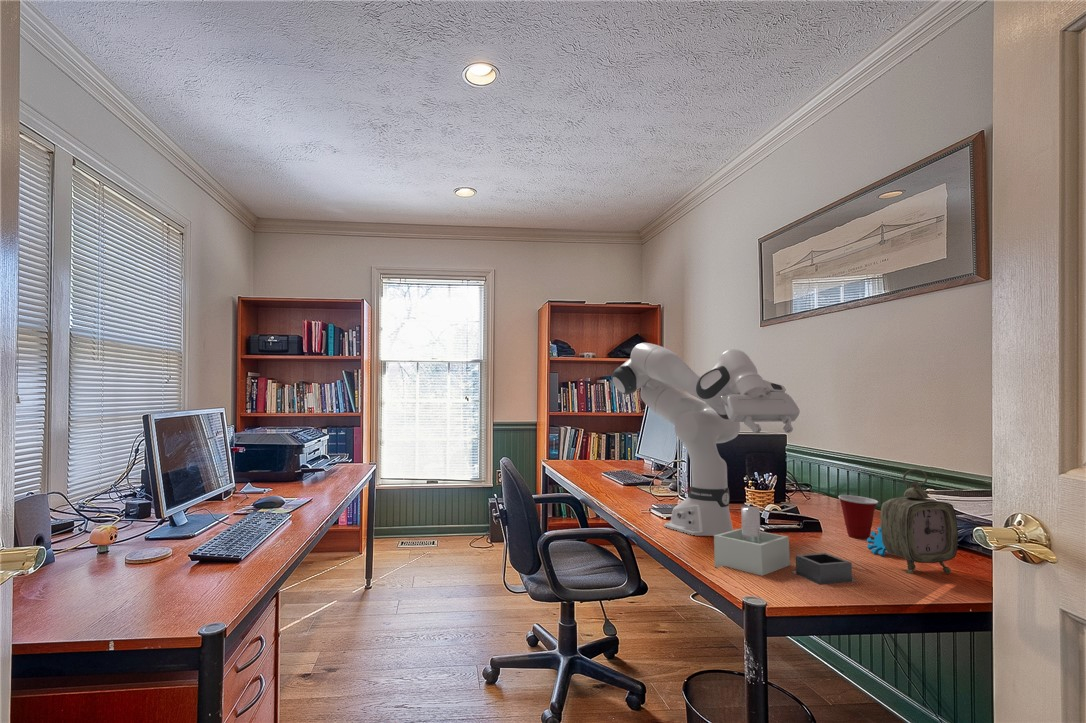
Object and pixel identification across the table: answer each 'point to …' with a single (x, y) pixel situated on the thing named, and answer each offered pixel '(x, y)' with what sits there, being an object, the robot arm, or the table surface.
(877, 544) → the gear
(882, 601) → the table surface
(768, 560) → the bin
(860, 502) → the plastic cup
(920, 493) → the tabletop clock
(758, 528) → the strut
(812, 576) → the socket block
